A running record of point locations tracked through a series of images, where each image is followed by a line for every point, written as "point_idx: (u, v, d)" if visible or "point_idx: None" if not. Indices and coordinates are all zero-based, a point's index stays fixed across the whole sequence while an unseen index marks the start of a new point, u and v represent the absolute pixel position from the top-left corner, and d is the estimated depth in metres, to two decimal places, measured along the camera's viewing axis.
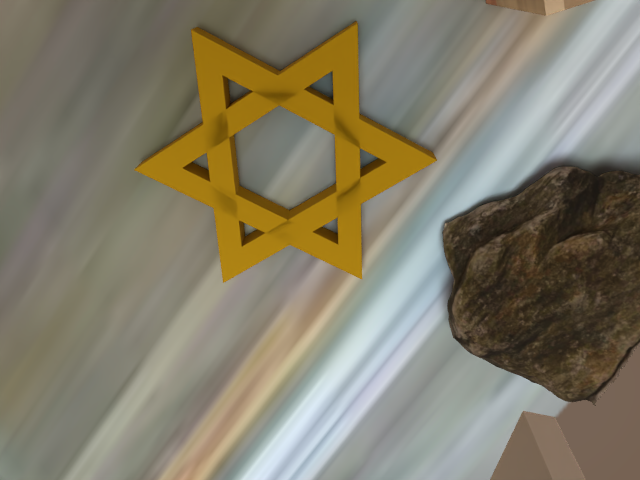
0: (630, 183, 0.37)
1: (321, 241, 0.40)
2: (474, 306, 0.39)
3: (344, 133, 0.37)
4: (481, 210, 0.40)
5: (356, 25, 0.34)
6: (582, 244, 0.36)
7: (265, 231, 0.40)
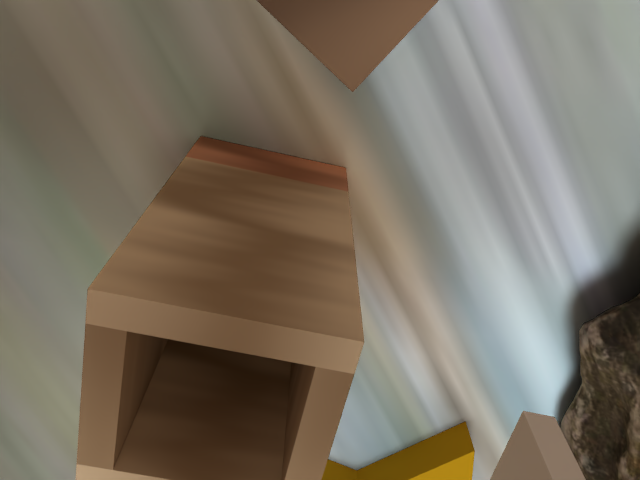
0: None
1: None
2: None
3: None
4: (567, 431, 0.25)
5: None
6: None
7: None
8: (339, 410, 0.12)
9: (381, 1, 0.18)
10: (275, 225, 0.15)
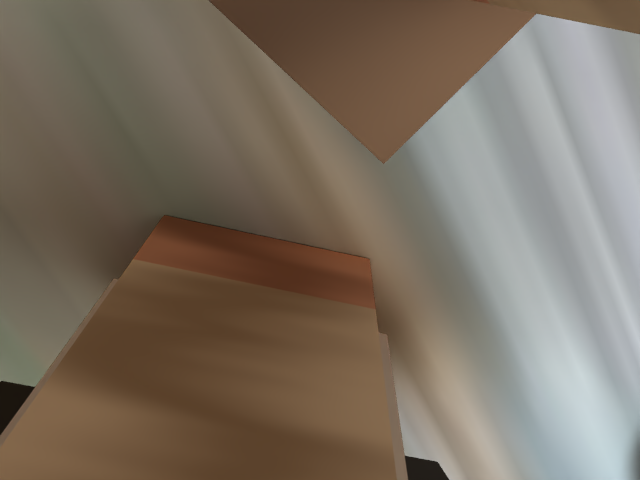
0: None
1: None
2: None
3: None
4: None
5: None
6: None
7: None
8: None
9: (431, 30, 0.11)
10: (260, 410, 0.09)
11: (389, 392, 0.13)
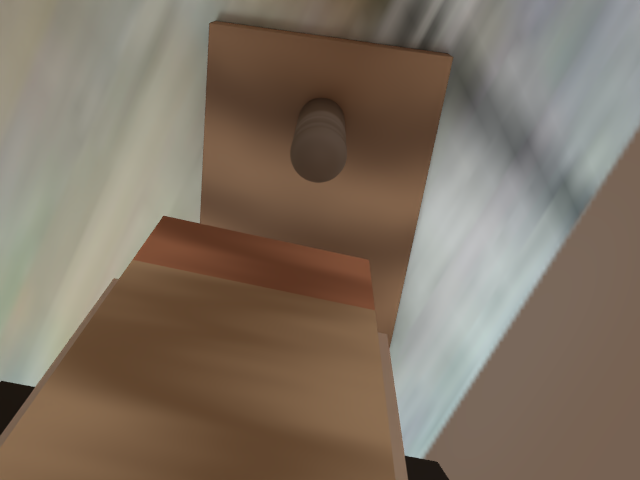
0: None
1: None
2: None
3: None
4: None
5: None
6: None
7: None
8: None
9: None
10: (259, 411, 0.09)
11: (389, 392, 0.13)
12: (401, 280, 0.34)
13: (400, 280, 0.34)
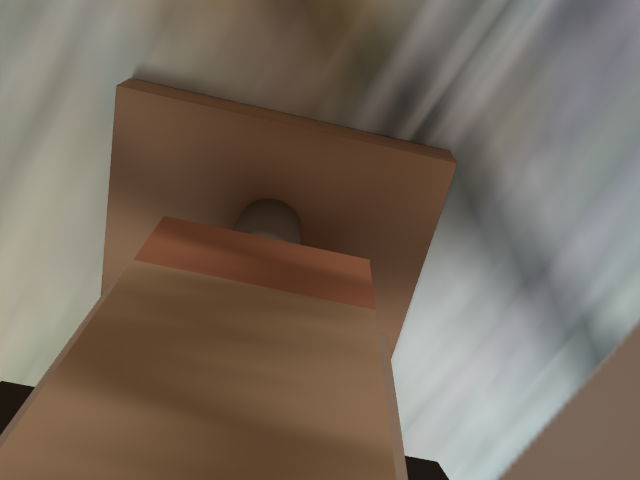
0: None
1: None
2: None
3: None
4: None
5: None
6: None
7: None
8: None
9: None
10: (260, 411, 0.09)
11: (389, 392, 0.13)
12: None
13: None
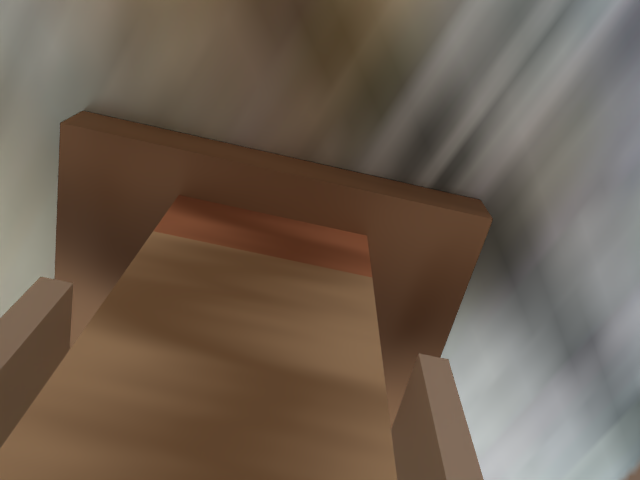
0: None
1: None
2: None
3: None
4: None
5: None
6: None
7: None
8: None
9: None
10: (270, 354, 0.11)
11: (461, 423, 0.12)
12: None
13: None
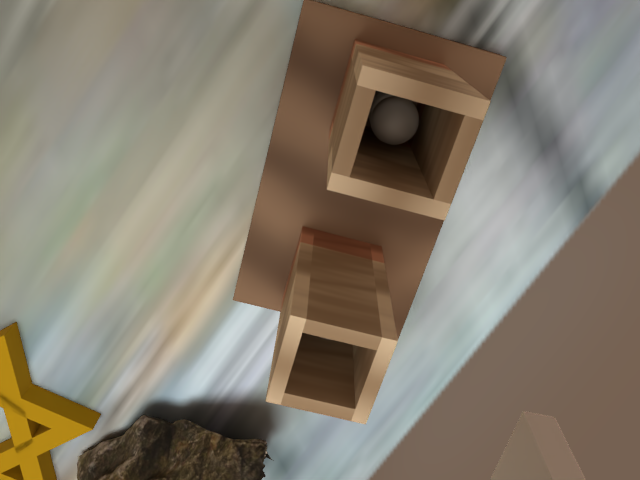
0: (190, 432, 0.43)
1: None
2: None
3: (11, 407, 0.44)
4: (98, 448, 0.47)
5: (3, 336, 0.42)
6: None
7: None
8: (472, 142, 0.24)
9: (272, 293, 0.40)
10: (424, 70, 0.27)
11: None
12: (430, 249, 0.38)
13: (429, 248, 0.38)
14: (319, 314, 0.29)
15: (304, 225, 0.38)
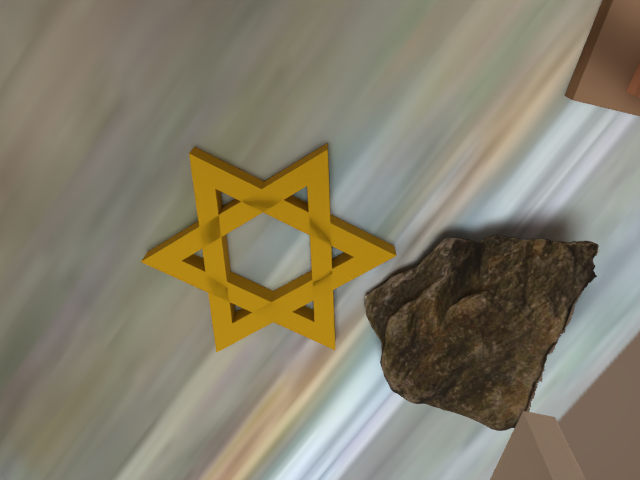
0: (505, 245, 0.43)
1: (299, 319, 0.47)
2: (398, 364, 0.46)
3: (318, 234, 0.44)
4: (391, 282, 0.46)
5: (326, 151, 0.41)
6: (470, 305, 0.42)
7: (252, 311, 0.47)
8: None
9: (615, 90, 0.39)
10: None
11: None
12: None
13: None
14: None
15: None
